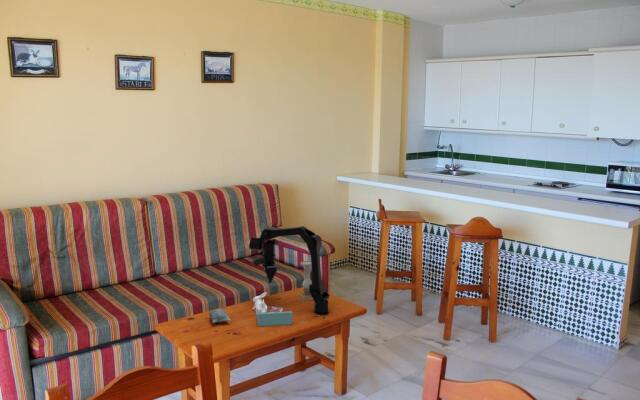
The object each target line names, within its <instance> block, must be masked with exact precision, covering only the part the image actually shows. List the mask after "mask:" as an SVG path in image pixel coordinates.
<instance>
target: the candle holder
mask: <svg viewBox="0 0 640 400" xmlns="http://www.w3.org/2000/svg"><path fill="white" fill-rule="evenodd" d="M300 266H302V267H303V268H304V271H303V273H304V279H303V281H302V284H301V286H302V287H303V289H302V291H303V293H301V294H300V295H299V299H300V300H302V301H314V300H313V297H311V293H309V292H310V289H309V285H310V284H311V283H312V282H313V281H312V280H311V274H312V270H311V269H312V266H311V260H303V261H301V262H300Z"/></svg>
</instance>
